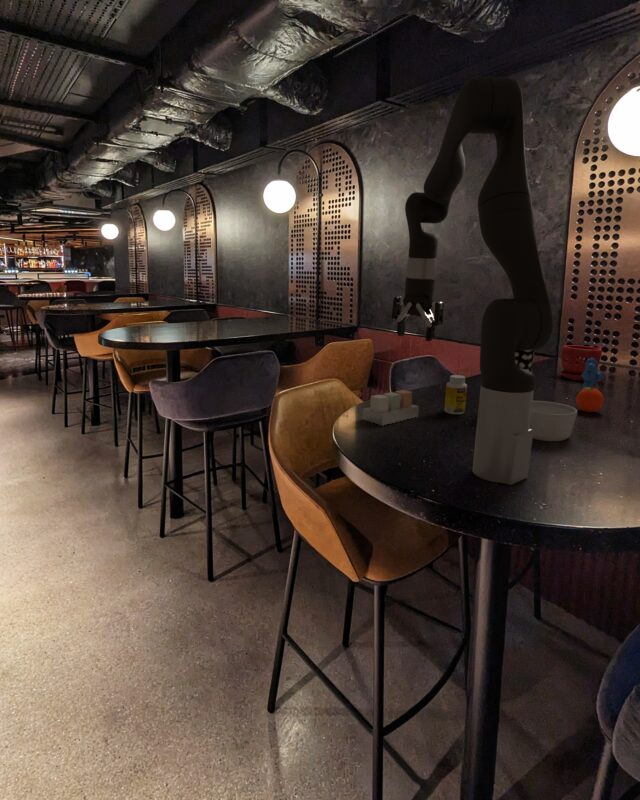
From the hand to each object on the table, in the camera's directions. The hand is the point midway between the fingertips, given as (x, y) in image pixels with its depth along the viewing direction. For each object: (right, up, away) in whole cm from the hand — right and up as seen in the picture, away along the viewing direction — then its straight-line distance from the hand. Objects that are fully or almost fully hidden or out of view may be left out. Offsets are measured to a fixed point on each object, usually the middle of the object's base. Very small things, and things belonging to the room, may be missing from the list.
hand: (414, 338), depth 135 cm
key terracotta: (-3, -18, 0) cm, 19 cm away
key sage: (-7, -19, -3) cm, 20 cm away
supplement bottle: (+12, -20, +5) cm, 24 cm away
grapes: (+63, -15, +31) cm, 72 cm away
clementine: (+51, -20, +9) cm, 55 cm away
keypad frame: (-7, -21, -2) cm, 23 cm away
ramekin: (+29, -25, -13) cm, 40 cm away
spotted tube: (+29, -20, +7) cm, 36 cm away
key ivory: (-10, -20, -5) cm, 23 cm away
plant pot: (+72, -9, +55) cm, 91 cm away
